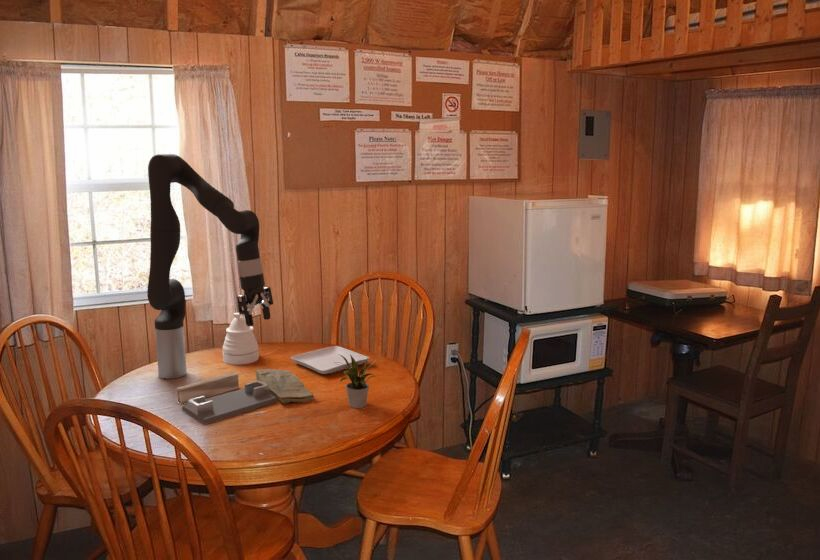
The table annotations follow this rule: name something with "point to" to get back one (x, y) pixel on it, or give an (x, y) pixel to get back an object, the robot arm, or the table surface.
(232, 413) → the base board
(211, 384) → the slat
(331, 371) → the salad plate
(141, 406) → the table surface
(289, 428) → the table surface
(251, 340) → the honey pot
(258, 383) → the end caps
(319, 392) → the table surface
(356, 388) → the house plant
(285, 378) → the stone slab
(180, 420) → the table surface
